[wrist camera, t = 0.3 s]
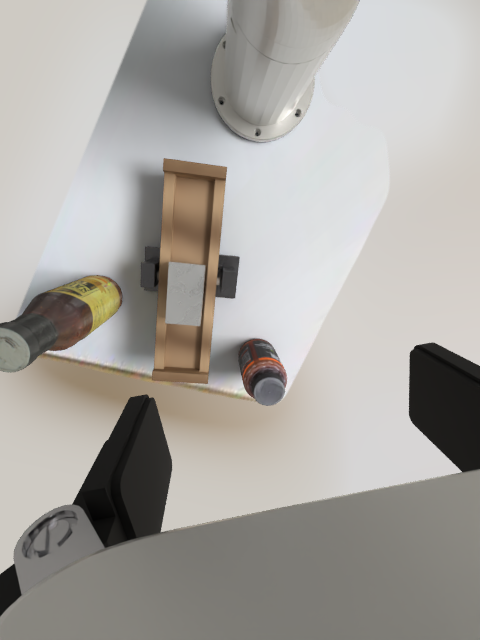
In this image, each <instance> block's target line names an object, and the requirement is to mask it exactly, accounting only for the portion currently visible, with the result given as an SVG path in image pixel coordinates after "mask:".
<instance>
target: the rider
mask: <svg viewBox="0 0 480 640" xmlns="http://www.w3.org/2000/svg"><path fill="white" fill-rule="evenodd" d="M205 270H206V265H200V264H191V263H181V262H169V268H168V285H167V302H166V319H165V323H168V324H180V325H192V326H200V324H201V319H202V307H203V295H204V283H205Z"/></svg>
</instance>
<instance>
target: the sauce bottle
mask: <svg viewBox="0 0 480 640" xmlns="http://www.w3.org/2000/svg"><path fill="white" fill-rule="evenodd" d="M121 304H122V292H121V289H120V287H119V286H118V285H117V283H116V282H115V281H113V280H112V279H111V278H108V277H105V276H98V275H97V276H88V277H85V278H82V279H79V280H77V281H74V282H71V283H69V284H66V285H63V286H60V287H58V288H55V289H52V290H49V291H47V292H44V293H42V294H39V295H37V296H36V297H35V298H34V299H33V300H32V301H31V303H30V304H29V305H28V307H27V308H26V310H25V311H24V312H23V314H22V315H21V316H19V317H18V318H17V319H15V320H13V321H11V322H5V323H1V324H0V371H3V372H16V371H19V370H22V369H24V368H25V367H27V366H28V365H30V364H31V363H32V362H33V361H34V360H35V359H36V358H37V357H38V356H39V355H40V354H42V353H43V352H46V351H48V350H50V351H58V350H65V349H67V348H69V347H71V346H73V345H75V344H76V343H77V342H78V341H80V340H82V339H84V338H85V337H86V336H88V335H89V334H90V333H91V332H93V331H94V330H95V329H96V328H98V327H99V326H100V325H102V324H103V323H104V322H105V321H107V320H108V319H109V318H110V317H112V316H113V315H114V314H115V313H116V312H117V310H118V309H119V307H120V306H121Z"/></svg>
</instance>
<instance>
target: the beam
mask: <svg viewBox="0 0 480 640" xmlns="http://www.w3.org/2000/svg"><path fill="white" fill-rule="evenodd" d="M163 171H164V192H163V211H162V229H161V248H160V267H159V272H158V274H157V279H158V280H159V286H158V304H157V323H156V342H155V361H154V370H153V372H152V380H154V381H170V382H187V383H203V384H208V375H209V362H210V351H211V340H212V328H213V317H214V306H215V294H216V285H219V283H220V278H218V277H217V272H218V261H219V249H220V238H221V227H222V216H223V204H224V193H225V182H226V172H227V167H223V166H215V165H208V164H201V163H194V162H187V161H180V160H173V159H165V158H164V162H163ZM169 262H181V263H191V264H200V265H206V270H205V283H204V295H203V307H202V319H201V324H200V326H192V325H180V324H168V323H165V319H166V302H167V285H168V268H169Z"/></svg>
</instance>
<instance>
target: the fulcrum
mask: <svg viewBox="0 0 480 640" xmlns="http://www.w3.org/2000/svg"><path fill="white" fill-rule="evenodd" d="M238 266H239V257H237V256H227V255H219V261H218V272H217V277H218V278H220V283H219V285H216V294H215V297H225V298H235V293H236V284H237V275H238ZM159 267H160V248H154V247H145V261H144V262H142V263H141V287H145V289H144V290H150V291H158V286H159V280H158V279H157V274H158V272H159Z"/></svg>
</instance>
